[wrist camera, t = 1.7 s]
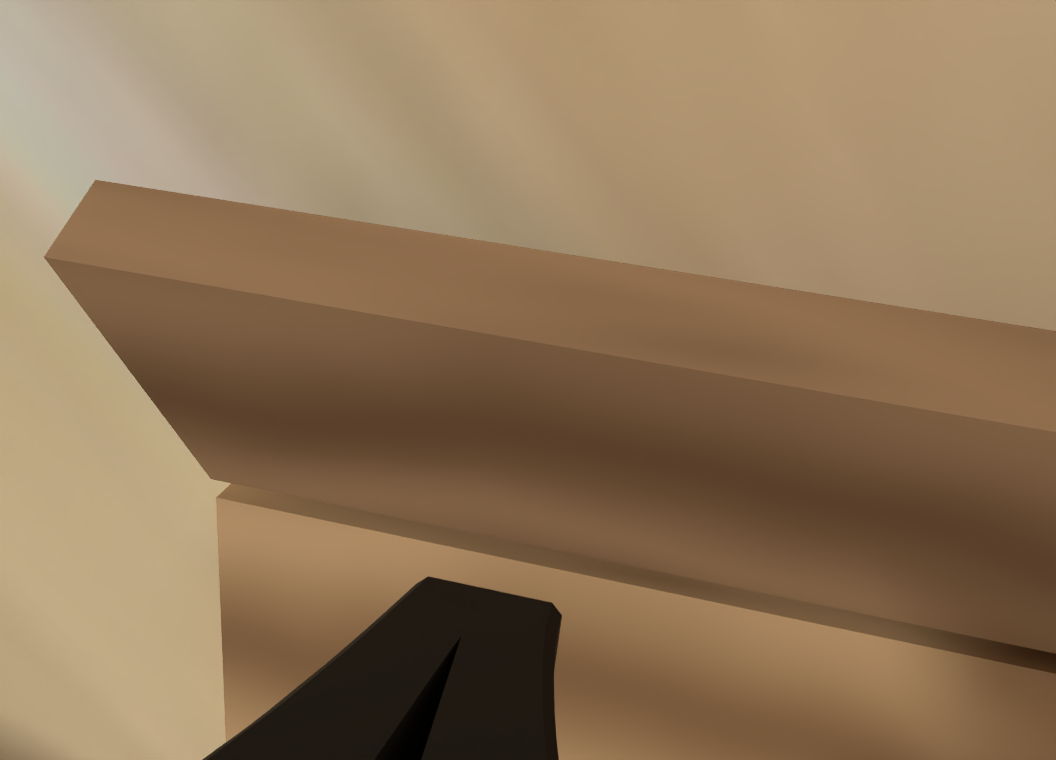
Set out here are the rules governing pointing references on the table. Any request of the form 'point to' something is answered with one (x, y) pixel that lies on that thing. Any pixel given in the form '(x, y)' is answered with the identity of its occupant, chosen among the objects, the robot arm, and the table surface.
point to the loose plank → (593, 404)
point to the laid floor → (629, 646)
